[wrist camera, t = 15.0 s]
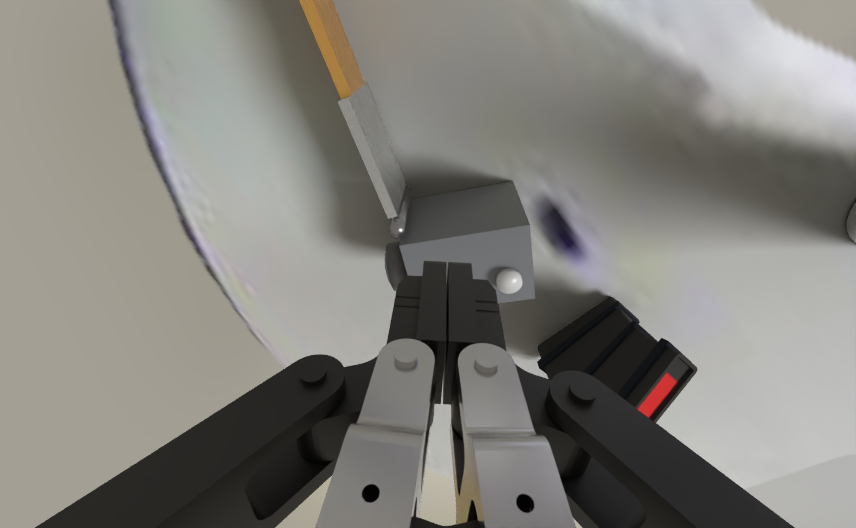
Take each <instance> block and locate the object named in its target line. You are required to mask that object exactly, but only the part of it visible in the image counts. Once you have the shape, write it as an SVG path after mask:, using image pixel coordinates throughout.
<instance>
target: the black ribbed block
mask: <svg viewBox="0 0 856 528" xmlns="http://www.w3.org/2000/svg"><path fill="white" fill-rule="evenodd" d="M639 323H640V322H639V320H638V319H637V318H636V317H635V316H634V315H633V314H632V313H631V312H630V311H629V310H627V309H626V308H625V307H624V306H623V305H622V304H621V303H620V302H619V301H617V300H616V299H614V298H613V297H610V298H608V299H607V300H605V301H604V302H602V303H601V304H600V305H598V306H597V307H595V308H594V309H592V310H591V311H589V312H588V313H586V314H585V315H583V316H582V317H580V318H579V319H577V320H576V321H575V322H573V323H572V324H570V325H569V326H567V327H566V328H564V329H563V330H561V331H560V332H558V333H557V334H555V335H554V336H553V337H551V338H550V339H548V340H547V341H545V342H544V343H542V344H541V345H539V346H538V350H539V353H540V356H541V359H540V360H539V361H538V362H537V363H538V366H539V369H541V370H542V371H544V372H545V373H546V374H547V376H548V378H549V380H552V378H553V377H554V376H555V375H556V374H558V373H560V372H563V371H580V372H583V373H586V374H589V375H591V376H593V377H595V378H596V379H598V380H599V381H601V382H602V383H603V384H605V385H606V386H607V387H609V388H610V389H611V390H613V391H614V392H615V393H617V394H618V395H619V396H621V397H622V398H623V399H625V400H626V401H627V402H628V403H630V404H631V405H632V406H634V407H635V408H636V409H638V410H639V411H640V412H642V413H643V414H644V415H646V416H647V417H648V418H650V419H651V420H652V421H654V422H655V423H656V422H657V421H658V420H659V418H660V417H661V416H662V415H663V413H664V412H665V411H666V410H667V408H668V407H669V406H670V405H671V403H672V402H673V401H674V400H675V398H676V397H677V396H678V395H679V393H680V392H681V391H682V390H683V388H684V387H685V386H686V385H687V383H688V382H689V381H690V380H691V378H692V377H693V376H694V375H695V373H696V372H697V367H696V366H695V365H694V364H693V363H691V361H690V360H689V359H687V358H686V357H685V356H684V355H683V354H682V353H681V352H680V351H679V350H678V349H676V348H675V347H674V346H673V345H672V344H671V343H670V342H669V341H667V340H665V339H663V338H661V339H660V341H659V342H658V341H657V340H656V339H654V338H653V337H652V336H651V335H650V334H649V333H648V332H647V331H646V330H644V329H643V328H642V327H641V326H640V325H639Z"/></svg>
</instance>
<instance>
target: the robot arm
mask: <svg viewBox="0 0 856 528" xmlns="http://www.w3.org/2000/svg"><path fill="white" fill-rule="evenodd" d="M847 232H848V235H849V237H850V238H851V239H852V240H853V241H854V242H855V243H856V202H855V204H854V205H853V207H852V209H851V211H850V213H849V216H848V220H847ZM446 272H447V283H446ZM442 382H443V404H451V425H450V439H451V451H452V462H453V474H454V484H455V496H456V525H452V526H441V525H437V524H435V523H432V522H429V521H427V520H424V519H421V518H419V516H420V506H421V498H422V490H423V482H424V474H425V466H426V458H427V450H428V443H429V435H430V427H431V425H432V423H433V417H434V404H441V393H442ZM332 475H333V476H332ZM331 476H332V478H331V481H330V484H329V487H328V491H327V493H326V497H325V500H324V503H323V506H322V509H321V512H320V515H319V518H318V521H317V524H316V527H315V528H576V526H575V523H574V520H573V518H574V519H575V520H576V521H577V522H578V523H579V524H580V525H581V526H582V528H794V527H793V526H792V525H790V524H789V523H788V522H786V521H785V520H784V519H782V518H780V516H778V515H777V514H776V513H774V512H773V511H772V510H770V509H769V508H768V507H766V506H765V505H764V504H762V503H761V502H760V501H758V500H757V499H756V498H754V497H753V496H752V495H750V494H749V493H748V492H746V491H745V490H744V489H743V488H741V487H740V486H739V485H737V484H736V483H735V482H733V481H732V480H731V479H729V478H728V477H727V476H725V475H724V474H723V473H721V472H720V471H719V470H717V469H716V468H715V467H713V466H712V465H711V464H709V463H708V462H707V461H705V460H704V459H703V458H701V457H700V456H699V455H697V454H696V453H695V452H693V451H692V450H691V449H689V448H688V447H687V446H686V445H684V444H683V443H682V442H680V441H679V440H678V439H676V438H675V437H674V436H672V435H671V434H670V433H668V432H667V431H666V430H664V429H663V428H662V427H660V426H659V425H658V424H656V423H655V422H654V421H652V420H651V419H650V418H648V417H647V416H646V415H644V414H643V413H642V412H640V411H639V410H638V409H636V408H635V407H634V406H632V405H631V404H630V403H628V402H627V401H626V400H625V399H623V398H622V397H621V396H619V395H618V394H617V393H615V392H614V391H613V390H611V389H610V388H609V387H607V386H606V385H605V384H603V383H602V382H601V381H599V380H598V379H596V378H595V377H593V376H591V375H589V374H586V373H583V372H580V371H563V372H560V373H558V374H556V375H555V376H554V377H553V378H552V380H549V379H546V378H543V377H540V376H537V375H534V374H531V373H528V372H526V371H524V370H523V369H521V368H520V367H518V366H517V365H516V364H515V363H514V360H513V359H512V357H511V356H510V355H509V353H507V351H506V346H505V341H504V335H503V329H502V323H501V317H500V314H499V306H498V300H497V294H496V290H495V289H494V287H493V286H492V285H491V284H490V282H489V281H488V280H482V279H473V274H472V264H471V263H460V262H448V270H447V262H440V261H424V264H423V274H422V276H410V275H406V276H405V277H404V278H403V279H402V281H401V282H400V283H399V284H398V286H397V291H396V298H395V302H394V308H393V313H392V318H391V324H390V329H389V334H388V340H387V344H386V345H385V346H384V347H383V348H382V349H381V351H380V352H379V355H378V356H377V357H375V358H374V359H372V360H370V361H368V362H365V363H362V364H358V365H353V366H348V367H343V365H342V364H341V362H340V361H339V360H337V359H336V358H334V357H331V356H328V355H311V356H307V357H304V358H302V359H300V360H298V361H296V362H294V363H293V364H291V365H290V366H288V367H287V368H285V369H283V370H282V371H281V372H279V373H277V374H276V375H274V376H272V377H271V378H269V379H268V380H266V381H265V382H263V383H262V384H260V385H258V386H257V387H255V388H254V389H252V390H251V391H249V392H247V393H246V394H244V395H243V396H241V397H239V398H238V399H236V400H235V401H233V402H232V403H230V404H228V405H227V406H226V407H224V408H222V409H221V410H219V411H218V412H216V413H214V414H213V415H211V416H210V417H208V418H207V419H205V420H204V421H202V422H200V423H199V424H197V425H195V426H194V427H192V428H191V429H189V430H188V431H186V432H185V433H183V434H181V435H180V436H178V437H177V438H175V439H173V440H172V441H170V442H169V443H167V444H166V445H164V446H163V447H161V448H159V449H158V450H156V451H155V452H153V453H152V454H150V455H148V456H147V457H145V458H144V459H142V460H141V461H139V462H138V463H136V464H134V465H133V466H131V467H130V468H128V469H126V470H125V471H123V472H122V473H120V474H119V475H117V476H115V477H114V478H112V479H111V480H109V481H108V482H106V483H104V484H103V485H101V486H100V487H98V488H97V489H95V490H93V491H92V492H90V493H89V494H87V495H86V496H84V497H82V498H81V499H79V500H78V501H76V502H75V503H73V504H72V505H70V506H68V507H67V508H65V509H64V510H62V511H61V512H59V513H57V514H56V515H54V516H53V517H51V518H49V519H48V520H46V521H45V522H43V523H42V524H40V525H38V526H37V527H35V528H275V527H276V526H277V525H278V524H279V523H280V522H282V521H283V520H284V519H285V518H286V517H287V516H288V515H289V514H290V513H291V512H292V511H294V510H295V509H296V508H297V507H298V506H299V505H300V504H301V503H302V502H303V501H304V500H305V499H306V498H308V497H309V496H310V495H311V494H312V493H313V492H314V491H315V490H316V489H317V488H319V486H321V485H322V484H323V483H324V482H325V481H326V480H327V479H328V478H329V477H331Z"/></svg>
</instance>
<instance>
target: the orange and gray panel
mask: <svg viewBox="0 0 856 528" xmlns="http://www.w3.org/2000/svg"><path fill="white" fill-rule="evenodd" d="M299 1H300V4H301V6H302V8H303V11H304V13H305V16H306V18H307V20H308V23H309V25H310V27H311V30H312V32H313V34H314V37H315V39H316V41H317V44H318V46H319V48H320V51H321V53H322V55H323V58H324V60H325V63H326V65H327V67H328V70H329V72H330V74H331V77H332V79H333V81H334V84H335V86H336V88H337V91H338V93H339V95H340V98H341V99H340V100H339V101H337V102H338V104H339V106H340V109H341V111H342V113H343V116H344V118H345V120H346V123H347V125H348V127H349V130H350V132H351V134H352V137H353V139H354V141H355V144H356V146H357V148H358V150H359V153H360V155H361V157H362V160H363V162H364V164H365V167H366V169H367V171H368V174H369V176H370V178H371V181H372V183H373V185H374V188H375V190H376V192H377V195H378V197H379V199H380V201H381V204H382V206H383V208H384V211H385V213H386V215H387V218H388V219H390V218H392V221H391V225H390V229H389V233H390V235H391V236H392V237H394V238H401V237H402V236H403V235H404V232H405V227H406V222H407V217H408V212H409V207H410V202H411V197H412V189H411V188H410V187H409V186H405V185H406V182H405V179H404V177H403V174H402V172H401V169H400V166H399V164H398V161H397V159H396V156H395V153H394V151H393V148H392V146H391V143H390V140H389V138H388V135H387V133H386V130H385V127H384V125H383V122H382V119H381V117H380V114H379V112H378V109H377V106H376V104H375V101H374V99H373V96H372V93H371V91H370V88H369V86H368V83H367V82H365V83H364V80H363V78H362V75H361V73H360V70H359V67H358V65H357V62H356V60H355V57H354V55H353V52H352V49H351V47H350V44H349V42H348V39H347V36H346V34H345V31H344V29H343V26H342V24H341V21H340V18H339V16H338V13H337V11H336V8H335V6H334V3H333V0H299Z"/></svg>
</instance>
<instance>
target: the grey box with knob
mask: <svg viewBox="0 0 856 528" xmlns="http://www.w3.org/2000/svg"><path fill="white" fill-rule="evenodd" d="M424 261H440V262H447V270H448V262H460V263H471V264H472V274H473V279H482V280H488V281H489V282H490V284H491V285H492V286H493V287H494V289H495V290H496V294H497V300H498V304H499V303H506V302H514V301H521V300H529V299H535V287H534V274H533V261H532V248H531V235H530V224H529V222H528V219H527V216H526V214H525V211H524V209H523V206H522V204H521V201H520V198H519V196H518V193H517V191H516V188H515V185H514V183H513V181H510V182H504V183H498V184H493V185H487V186H482V187H476V188H470V189H465V190H459V191H454V192H448V193H442V194H437V195H431V196H425V197H420V198H414V199H411V202H410V207H409V212H408V217H407V222H406V227H405V232H404V235H403V236H402V237H401V240H400V242H395V243H389V244H387V247H386V253H385V269H386V274H387V277H388V280H389V282H390V283H391V286H392V288H393V289H394V291H397V286H398V284H399V283H400V282H401V281H402V279H403V278H404V277H405V276H406V275H410V276H422V274H423V264H424ZM446 283H447V272H446Z"/></svg>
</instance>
